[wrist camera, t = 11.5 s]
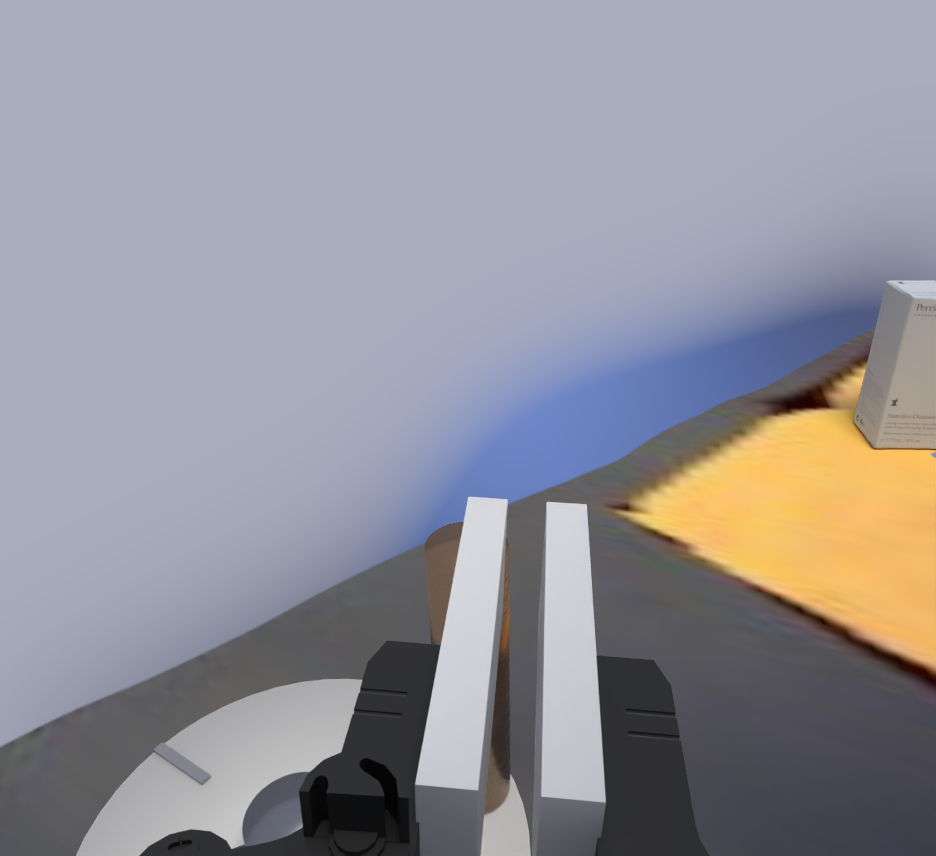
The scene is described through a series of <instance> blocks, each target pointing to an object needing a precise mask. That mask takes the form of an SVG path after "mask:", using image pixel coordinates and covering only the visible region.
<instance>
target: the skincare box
mask: <svg viewBox="0 0 936 856" xmlns="http://www.w3.org/2000/svg"><path fill="white" fill-rule="evenodd" d="M854 423H855V424H856V425H857V426H858V427H859V429H860V430H861V432H862V433H863V434H864V436H865V437H866V439H867V440H868V442H869V443H870V444H871V446H872V447H873V448H880V449H884V448H921V449H922V448H928V449H936V281H929V280H924V281H886V286H885V291H884V295H883V299H882V304H881V308H880V312H879V316H878V320H877V324H876V328H875V333H874V337H873V341H872V346H871V350H870V354H869V358H868V362H867V367H866V371H865V375H864V379H863V383H862V387H861V391H860V395H859V400H858V404H857V408H856V412H855V416H854Z"/></svg>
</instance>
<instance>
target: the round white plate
mask: <svg viewBox="0 0 936 856" xmlns="http://www.w3.org/2000/svg"><path fill="white" fill-rule="evenodd" d="M361 684H362V680H355V679H324V680H316V681H307V682H299V683H295V684H290V685H285V686H281V687H276V688H273V689H269V690H266V691H263V692H260V693H256V694H253V695H250V696H248V697H245V698H243V699H241V700H238V701H236V702H233V703H231V704H228V705H226V706H224V707H222V708H220V709H218V710H216V711H214V712H213V713H211V714H209V715H207V716H205V717H203V718H201V719H200V720H198V721H197V722H195V723H193V724H192V725H190V726H189V727H187V728H185V729H184V730H182V731H181V732H179V733H178V734H177V735H175V736H174V737H173V738H171V739H170V740H169V741H167V742H166V743H165V744H164V743H163V742H162V743H160V744H159V745H158V746H157V747H156V748H154V749H153V751H154V753H153V754H152V755H151V756H149V757H148V758H147V759H146V760H145V761H144V762H143V763H142V764H141V765H139V766H138V767H137V768H136V769H135V771H134V772H133V773H132V774H131V775H130V776H129V777H128V778H127V779H126V780H125V781H124V783H123V784H122V785H121V786H120V787H119V788H118V789H117V790H116V792H115V793H114V794H113V796H112V797H111V798H110V800H109V801H108V802H107V804H106V805H105V806H104V808H103V809H102V810H101V812H100V813H99V815H98V816H97V818H96V820H95V821H94V823H93V825H92V826H91V828H90V830H89V831H88V833H87V835H86V836H85V838H84V840H83V842H82V844H81V846H80V848H79V851H78V853H77V855H76V856H139V855H140V854H141V853H142V852H143V851H144V850H145V849H146V848H147V847H148V846H150V845H152V844H153V843H155V842H157V841H159V840H160V839H162V838H164V837H166V836H167V835H169V834H173V833H177V832H181V831H186V830H190V829H194V830H203V831H211V832H213V833H215V834H216V835H218V836H220V837H221V838H223V839H225V840H226V841H227V842H228V844H229V846H230V847H231V849H233V848H236V847H239V846H241V845H244V844H245V843H244V839H243V834H242V825H243V819H244V816H245V813H246V810H247V808H248V807H249V805H250V803H251V802H252V800H253V799H254V798H255V796H256V795H257V794H258V793H259V792H260V791H261V790H262V789H263V788H265V787H266V786H267V785H268V784H270V783H272V782H273V781H275V780H277V779H279V778H281V777H283V776H286V775H289V774H293V773H298V772H310V771H311V770H313V769H314V768H315V767H316V766H317V765H318V764H319V763H320V762H322V761H323V760H324V759H327V758H329V757H331V756H334V755H336V754H338V753H341V751H342V748H343V745H344V741H345V738H346V734H347V731H348V728H349V724H350V721H351V718H352V714H354V707H355V704H356V701H357V697H358V694H359V693H360V687H361ZM480 856H531V854H530V841H529V829H528V825H527V820H526V815H525V811H524V806H523V803H522V800H521V797H520V795H519V792H518V790H517V787H516V784H515V782H514V780H513V778H512V776H511V774H510V789H509V792H508V795H507V797H506V798H505V800H504V801H503V802H502V803H501V804H500V805H499V806H497V807H496V808H494V809H493V810H490V811H488V812H484V822H483V833H482V844H481V855H480Z"/></svg>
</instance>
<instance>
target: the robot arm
mask: <svg viewBox="0 0 936 856" xmlns="http://www.w3.org/2000/svg"><path fill="white" fill-rule="evenodd" d="M507 501H508V500H507V499H494V498H479V497H468V502H467V508H466V513H465V518H464V524H463V529H462V534H461V540H460V545H459V551H458V556H457V561H456V567H455V572H454V578H453V583H452V588H451V594H450V599H449V604H448V610H447V615H446V621H445V626H444V631H443V637H442V642H441V645H433V644H421V643H408V642H396V641H386V642H385V644H384V645H383V646H382V647H381V648H380V649H379V650H378V651H377V653H376V654H375V655H374V656H373V657H372V658H371V659H370V660H369V661H368V664H367V667H366V670H365V674H364V677H363V680H362V684H361V687H360V693H359V694H358V697H357V701H356V704H355V707H354V714H352V718H351V721H350V724H349V728H348V731H347V734H346V738H345V741H344V745H343V748H342V751H341V753H338V754H336V755H334V756H331V757H329V758H327V759H324V760H323V761H322V762H320V763H319V764H318V765H317V766H316V767H315V768H314V769H313V770H311V771H310V772H309V773H308V774H307V776H306V778H305V780H304V782H303V784H302V786H301V788H300V790H299V798H300V806H301V815H302V823H303V827H302V828H301V829H299V830H297V831H295V832H294V833H292V834H290V835H288V836H286V837H283V838H280V839H277V840H274V841H270V842H266V843H261V844H257V845H252V846H247V847H242V848H238V849H233V850H232V849H231V847H230V846H229V844H228V842H227V841H226V840H225V839H223V838H221V837H220V836H218V835H216V834H215V833H213V832H211V831H203V830H194V829H190V830H186V831H181V832H177V833H173V834H169V835H167V836H166V837H164V838H162V839H160V840H159V841H157V842H155V843H153V844H152V845H150V846H148V847H147V848H146V849H145V850H144V851H143V852H142V853H141V854H140V855H139V856H480V855H481V844H482V833H483V822H484V811H485V800H486V789H487V778H488V767H489V756H490V745H491V734H492V723H493V712H494V701H495V690H496V679H497V668H498V657H499V646H500V635H501V624H502V613H503V593H504V570H505V548H506V525H507V503H508V502H507ZM675 713H676V712H675V707H674V701H673V695H672V690H671V685H670V683H669V682H668V681H667V679H666V678H665V676H664V675H663V673H662V672H661V671H660V669H659V668H658V666H657V665H656V663H655V662H654V660H644V659H632V658H619V657H607V656H596V643H595V627H594V612H593V596H592V581H591V565H590V550H589V535H588V519H587V505H586V504H571V503H556V502H547V506H546V520H545V534H544V548H543V563H542V577H541V591H540V605H539V628H538V662H537V697H536V732H535V767H534V802H533V837H532V856H709V854H708V853H707V851H706V849H705V848H704V846H703V844H702V843H701V841H700V839H699V836H698V832H697V829H696V826H695V821H694V815H693V810H692V804H691V798H690V792H689V787H688V781H687V775H686V770H685V764H684V758H683V752H682V747H681V741H679V730H678V724H677V718H675Z"/></svg>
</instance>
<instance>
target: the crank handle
mask: <svg viewBox="0 0 936 856" xmlns="http://www.w3.org/2000/svg"><path fill="white" fill-rule="evenodd" d="M463 524H464V522H459V523H453V524H449V525H446V526H444V527H441V528H439V529H438V530H436V531H435V532H434V533H432V534H431V535H430V536H429V538H428V539H427V541H426V543H425V559H426V574H427V589H428V604H429V619H430V634H431V644H433V645H441V642H442V637H443V631H444V626H445V621H446V615H447V610H448V604H449V599H450V594H451V588H452V583H453V578H454V572H455V567H456V561H457V556H458V551H459V545H460V540H461V534H462V529H463ZM308 773H309V772H298V773H293V774H289V775H286V776H283V777H281V778H279V779H277V780H275V781H273V782H272V783H270V784H268V785H267V786H266V787H265V788H263V789H262V790H261V791H260V792H259V793H258V794H257V795H256V796H255V798H254V799H253V800H252V802H251V803H250V805H249V807H248V808H247V810H246V813H245V816H244V819H243V825H242V834H243V839H244V843H245V844H244V845H241V846H239V847H236V848H233V849H238V848H242V847H247V846H252V845H257V844H261V843H266V842H270V841H274V840H277V839H280V838H283V837H286V836H288V835H290V834H292V833H294V832H295V831H297V830H299V829H301V828H302V827H303V823H302V815H301V806H300V798H299V790H300V788H301V786H302V784H303V782H304V780H305V778H306V776H307V774H308ZM509 789H510V676H509V544H508V540H507V538H506V548H505V570H504V593H503V613H502V624H501V635H500V646H499V657H498V668H497V679H496V690H495V701H494V712H493V723H492V734H491V745H490V756H489V767H488V778H487V789H486V800H485V811H484V812H488V811H490V810H493V809H494V808H496V807H497V806H499V805H500V804H501V803H502V802H503V801H504V800H505V798H506V797H507V795H508V792H509ZM233 849H232V850H233Z"/></svg>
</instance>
